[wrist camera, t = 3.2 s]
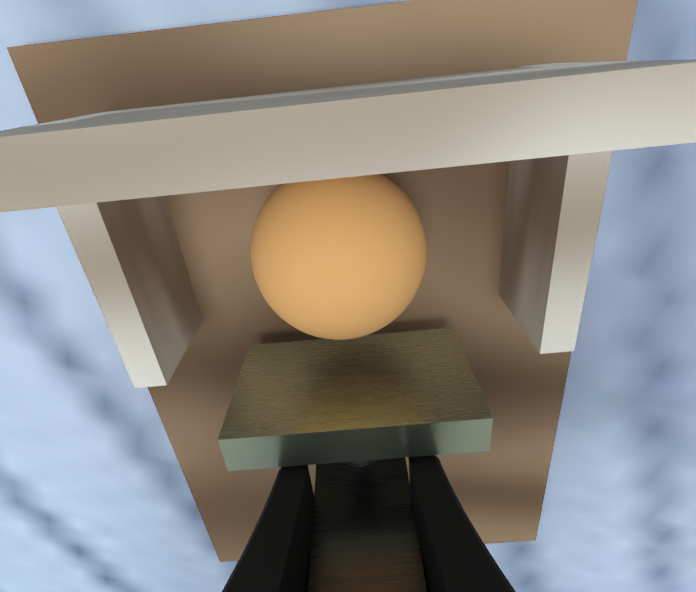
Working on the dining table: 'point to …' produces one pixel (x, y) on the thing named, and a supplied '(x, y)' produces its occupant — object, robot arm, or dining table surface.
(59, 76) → the brown piece
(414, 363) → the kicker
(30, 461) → the dining table surface
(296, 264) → the ball
